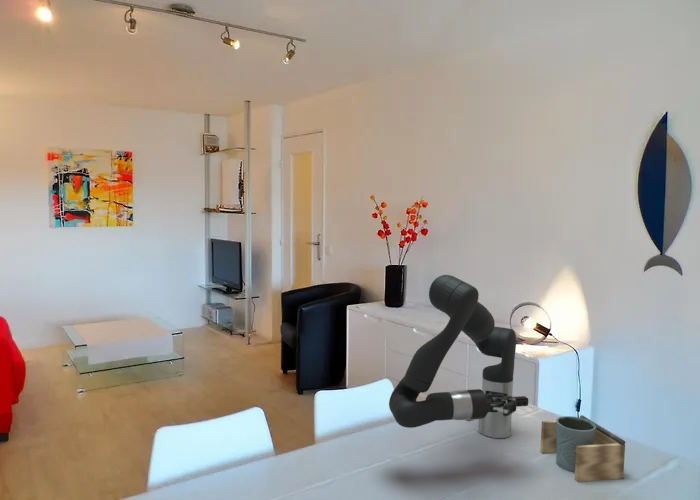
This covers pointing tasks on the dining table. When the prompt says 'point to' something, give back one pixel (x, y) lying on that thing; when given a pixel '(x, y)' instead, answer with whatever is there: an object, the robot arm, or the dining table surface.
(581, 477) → the oak caddy
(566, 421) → the green ceramic pot
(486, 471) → the dining table surface
